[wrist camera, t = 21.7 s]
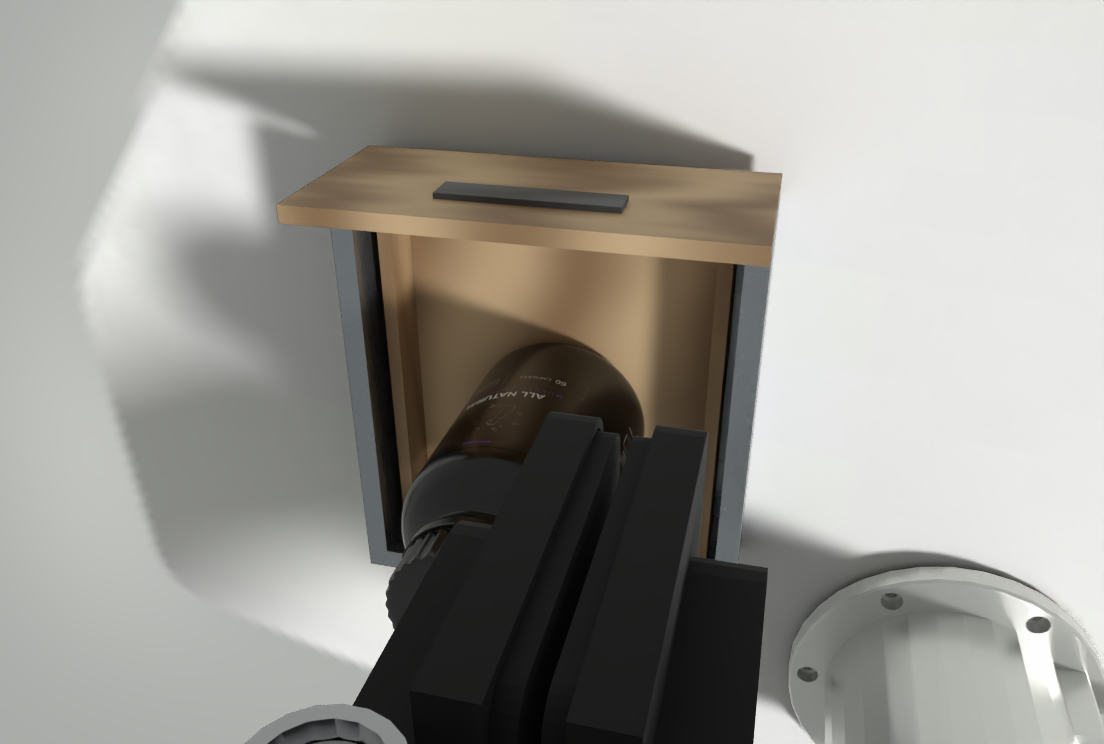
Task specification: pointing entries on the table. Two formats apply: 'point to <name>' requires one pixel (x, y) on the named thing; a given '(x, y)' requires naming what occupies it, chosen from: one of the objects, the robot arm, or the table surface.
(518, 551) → the robot arm
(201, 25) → the table surface
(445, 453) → the supplement bottle
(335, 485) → the table surface
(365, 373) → the housing
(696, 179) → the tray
